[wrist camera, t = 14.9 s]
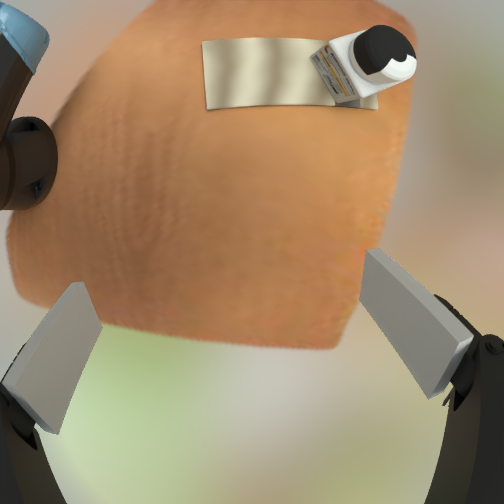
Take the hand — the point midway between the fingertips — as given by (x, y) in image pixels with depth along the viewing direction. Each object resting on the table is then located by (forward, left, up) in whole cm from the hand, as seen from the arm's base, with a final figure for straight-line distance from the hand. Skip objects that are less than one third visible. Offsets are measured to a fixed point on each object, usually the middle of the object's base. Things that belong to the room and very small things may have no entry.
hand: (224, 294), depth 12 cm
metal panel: (+11, +16, -27) cm, 33 cm away
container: (+18, +16, -26) cm, 35 cm away
